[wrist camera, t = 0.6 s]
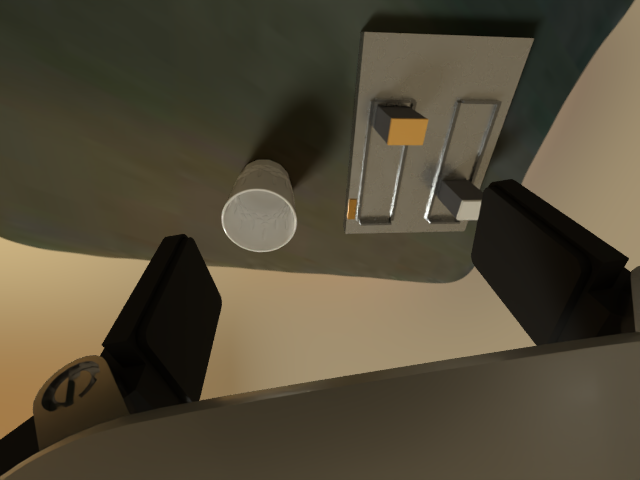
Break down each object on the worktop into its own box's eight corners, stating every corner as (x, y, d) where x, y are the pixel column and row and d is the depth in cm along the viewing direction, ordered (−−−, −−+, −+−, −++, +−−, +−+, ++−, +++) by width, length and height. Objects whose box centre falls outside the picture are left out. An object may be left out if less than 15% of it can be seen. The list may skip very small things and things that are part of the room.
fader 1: (377, 105, 34) (392, 119, 29) (408, 106, 34) (428, 119, 29) (374, 128, 35) (388, 145, 31) (404, 129, 36) (422, 145, 31)
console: (360, 31, 32) (366, 32, 29) (522, 37, 33) (540, 38, 31) (343, 226, 45) (346, 237, 43) (458, 223, 47) (467, 234, 45)
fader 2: (442, 180, 40) (463, 201, 35) (468, 180, 40) (493, 201, 35) (437, 197, 41) (457, 220, 37) (462, 197, 42) (485, 219, 37)
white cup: (238, 148, 38) (224, 181, 29) (300, 161, 39) (304, 196, 31) (232, 203, 42) (219, 246, 34) (289, 213, 43) (289, 256, 35)
